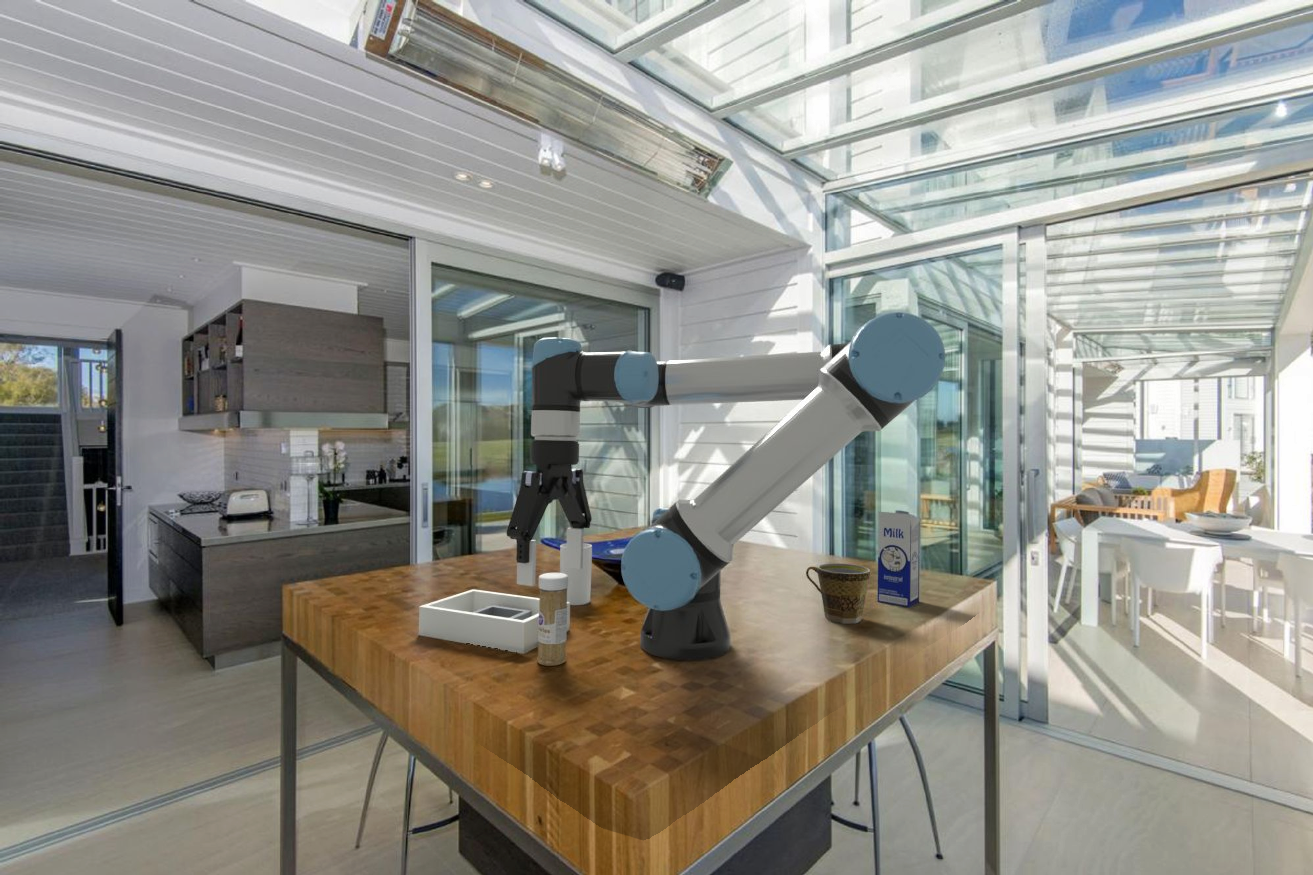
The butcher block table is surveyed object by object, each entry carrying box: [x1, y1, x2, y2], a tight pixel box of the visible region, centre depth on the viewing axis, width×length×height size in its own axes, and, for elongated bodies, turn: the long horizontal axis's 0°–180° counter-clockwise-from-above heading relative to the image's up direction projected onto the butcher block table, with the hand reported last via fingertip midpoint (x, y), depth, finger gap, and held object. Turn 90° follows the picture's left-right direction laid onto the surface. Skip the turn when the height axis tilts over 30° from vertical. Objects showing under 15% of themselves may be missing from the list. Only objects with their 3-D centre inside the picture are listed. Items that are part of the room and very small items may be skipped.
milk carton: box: [877, 509, 921, 608], centre depth 135 cm, size 7×7×20 cm
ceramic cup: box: [805, 562, 871, 625], centre depth 122 cm, size 13×10×10 cm
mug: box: [559, 542, 593, 606], centre depth 133 cm, size 10×7×12 cm, turn 4°
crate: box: [418, 588, 571, 655], centre depth 109 cm, size 22×14×5 cm, turn 67°
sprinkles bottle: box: [536, 572, 568, 667], centre depth 95 cm, size 5×5×14 cm
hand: (551, 575), depth 96 cm, fingers open, 13 cm apart
